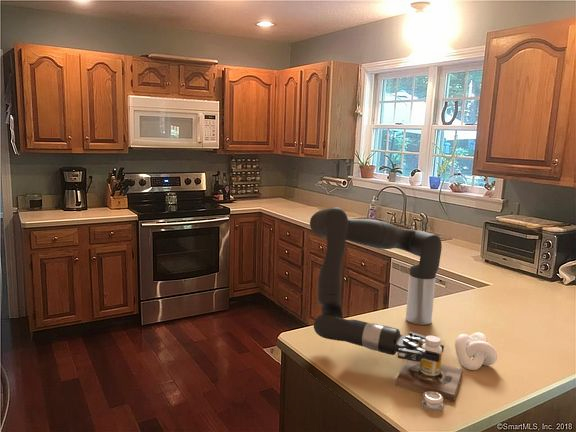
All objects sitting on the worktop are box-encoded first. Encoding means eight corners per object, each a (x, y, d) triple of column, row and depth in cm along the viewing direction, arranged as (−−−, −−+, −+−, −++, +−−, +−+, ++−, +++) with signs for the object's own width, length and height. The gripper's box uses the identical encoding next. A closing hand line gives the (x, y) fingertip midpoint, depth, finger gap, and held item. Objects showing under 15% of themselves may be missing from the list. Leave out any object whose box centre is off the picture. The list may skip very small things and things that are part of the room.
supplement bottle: (435, 366, 129) (439, 334, 128) (442, 376, 124) (446, 343, 122) (416, 366, 129) (420, 333, 127) (423, 376, 124) (426, 342, 122)
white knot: (471, 378, 129) (474, 348, 128) (441, 358, 140) (444, 331, 139) (500, 371, 134) (504, 342, 132) (469, 353, 145) (472, 326, 143)
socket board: (408, 362, 137) (409, 356, 137) (461, 375, 130) (462, 369, 130) (395, 385, 124) (396, 378, 124) (453, 402, 117) (454, 394, 117)
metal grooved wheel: (423, 398, 118) (421, 409, 114) (423, 388, 118) (422, 398, 113) (443, 403, 117) (442, 413, 112) (444, 392, 116) (443, 402, 112)
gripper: (374, 335, 125) (438, 351, 117) (388, 317, 138) (447, 331, 130) (372, 360, 126) (435, 378, 119) (386, 341, 139) (444, 355, 131)
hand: (441, 353), depth 124 cm, fingers closed on supplement bottle, 5 cm apart
